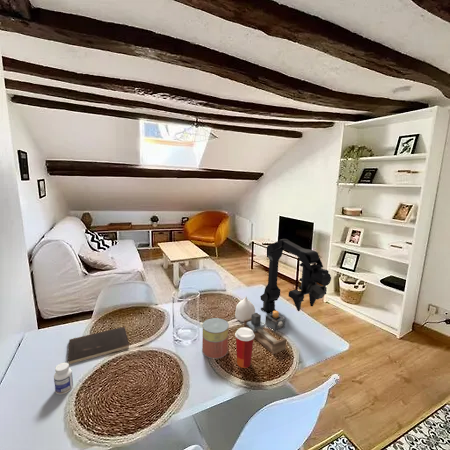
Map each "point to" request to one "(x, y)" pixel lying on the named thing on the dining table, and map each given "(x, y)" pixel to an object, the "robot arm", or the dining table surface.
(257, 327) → the carriage
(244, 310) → the teardrop
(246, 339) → the paper cup
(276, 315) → the button
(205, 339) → the canned food
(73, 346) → the hardcover book
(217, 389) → the dining table surface
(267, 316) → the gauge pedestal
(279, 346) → the rail
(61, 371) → the pill bottle
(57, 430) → the dining table surface
